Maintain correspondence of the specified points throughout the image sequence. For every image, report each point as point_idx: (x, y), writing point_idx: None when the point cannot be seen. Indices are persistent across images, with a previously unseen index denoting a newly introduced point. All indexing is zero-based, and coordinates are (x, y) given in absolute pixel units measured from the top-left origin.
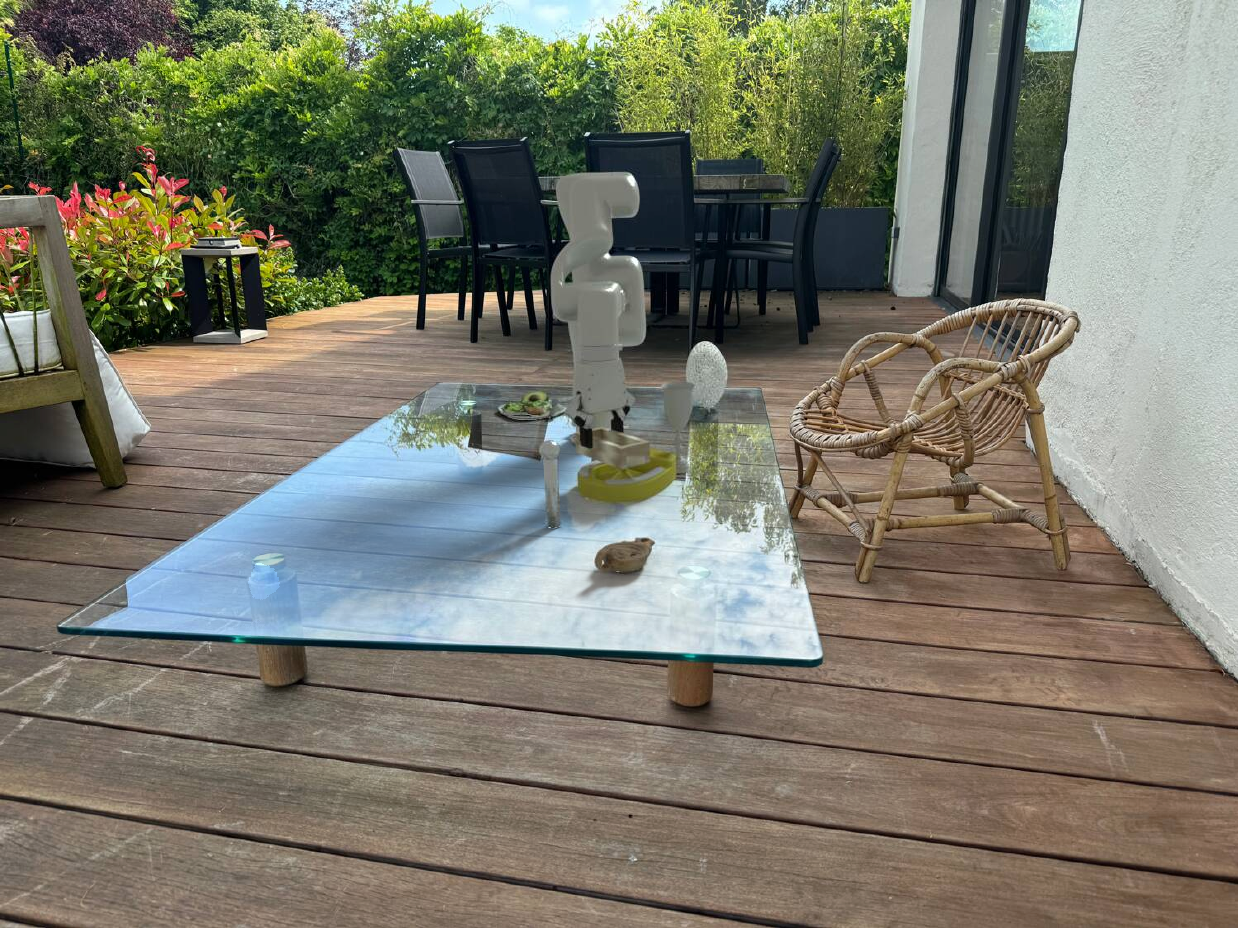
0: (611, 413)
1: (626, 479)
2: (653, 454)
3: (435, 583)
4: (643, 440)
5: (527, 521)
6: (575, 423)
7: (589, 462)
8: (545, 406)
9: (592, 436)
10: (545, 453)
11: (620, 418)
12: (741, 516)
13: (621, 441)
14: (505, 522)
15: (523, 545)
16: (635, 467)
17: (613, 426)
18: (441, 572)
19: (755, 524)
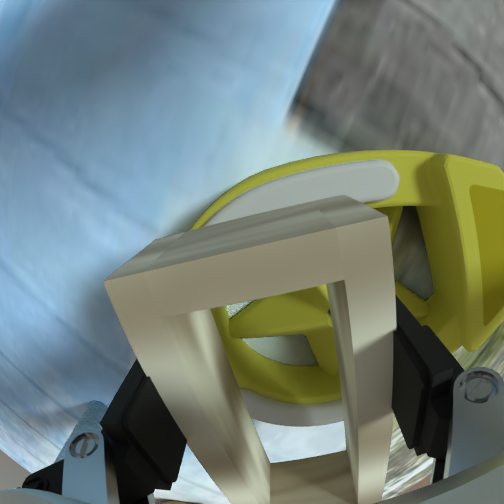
0: (454, 423)
1: (289, 417)
2: (485, 272)
3: (7, 428)
4: (374, 500)
5: (57, 368)
6: (60, 460)
7: (249, 196)
8: None
9: (184, 450)
10: None
11: (434, 461)
12: (398, 472)
13: (352, 422)
14: (27, 349)
15: (64, 427)
16: (427, 208)
17: (403, 374)
18: (4, 416)
19: (388, 488)
